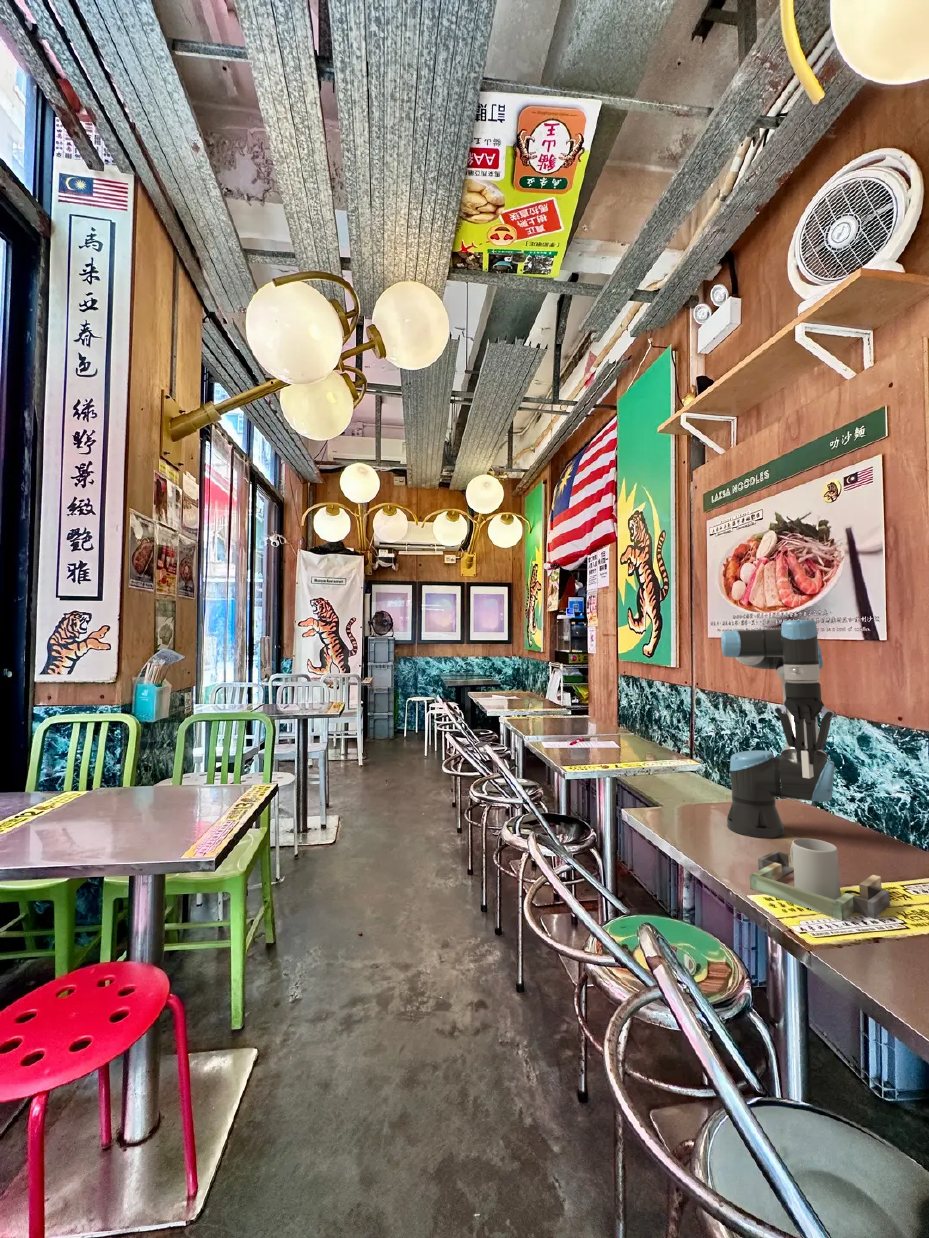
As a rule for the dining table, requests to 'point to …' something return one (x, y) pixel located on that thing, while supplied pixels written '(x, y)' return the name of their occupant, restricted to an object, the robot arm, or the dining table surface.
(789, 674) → the robot arm
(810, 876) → the mug
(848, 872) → the dining table surface
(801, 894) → the grey-green u-shaped bracket
